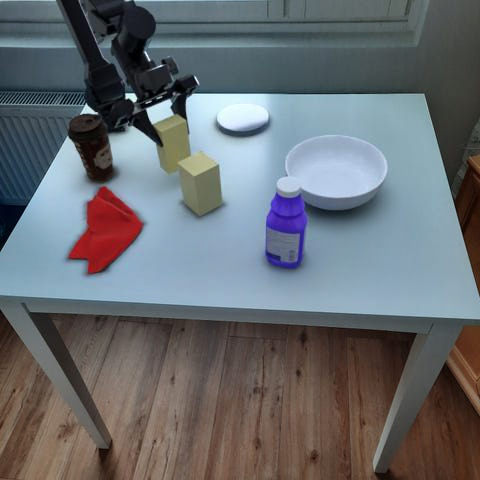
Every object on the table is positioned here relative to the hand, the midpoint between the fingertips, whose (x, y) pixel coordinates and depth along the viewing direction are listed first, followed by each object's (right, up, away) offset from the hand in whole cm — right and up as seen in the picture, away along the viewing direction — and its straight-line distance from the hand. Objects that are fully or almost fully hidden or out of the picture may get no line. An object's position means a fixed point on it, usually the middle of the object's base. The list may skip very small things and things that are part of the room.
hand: (175, 140), depth 96 cm
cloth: (-14, -17, +2) cm, 22 cm away
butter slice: (-1, -3, +6) cm, 7 cm away
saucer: (+14, +14, +24) cm, 31 cm away
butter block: (+5, -11, +5) cm, 14 cm away
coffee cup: (-19, -3, +13) cm, 23 cm away
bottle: (+22, -25, -6) cm, 34 cm away
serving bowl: (+33, -9, +6) cm, 35 cm away
